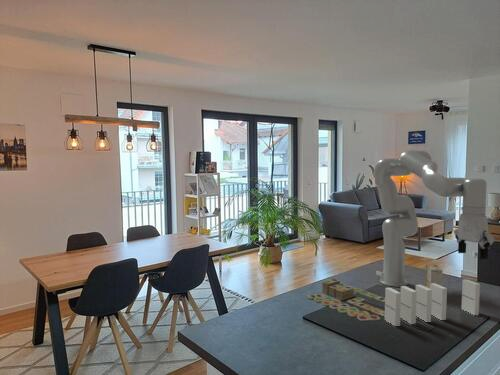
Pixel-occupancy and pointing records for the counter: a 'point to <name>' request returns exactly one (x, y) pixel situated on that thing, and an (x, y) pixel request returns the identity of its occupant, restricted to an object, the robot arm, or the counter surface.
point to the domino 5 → (470, 296)
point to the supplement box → (433, 275)
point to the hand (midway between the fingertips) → (472, 255)
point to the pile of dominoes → (345, 292)
